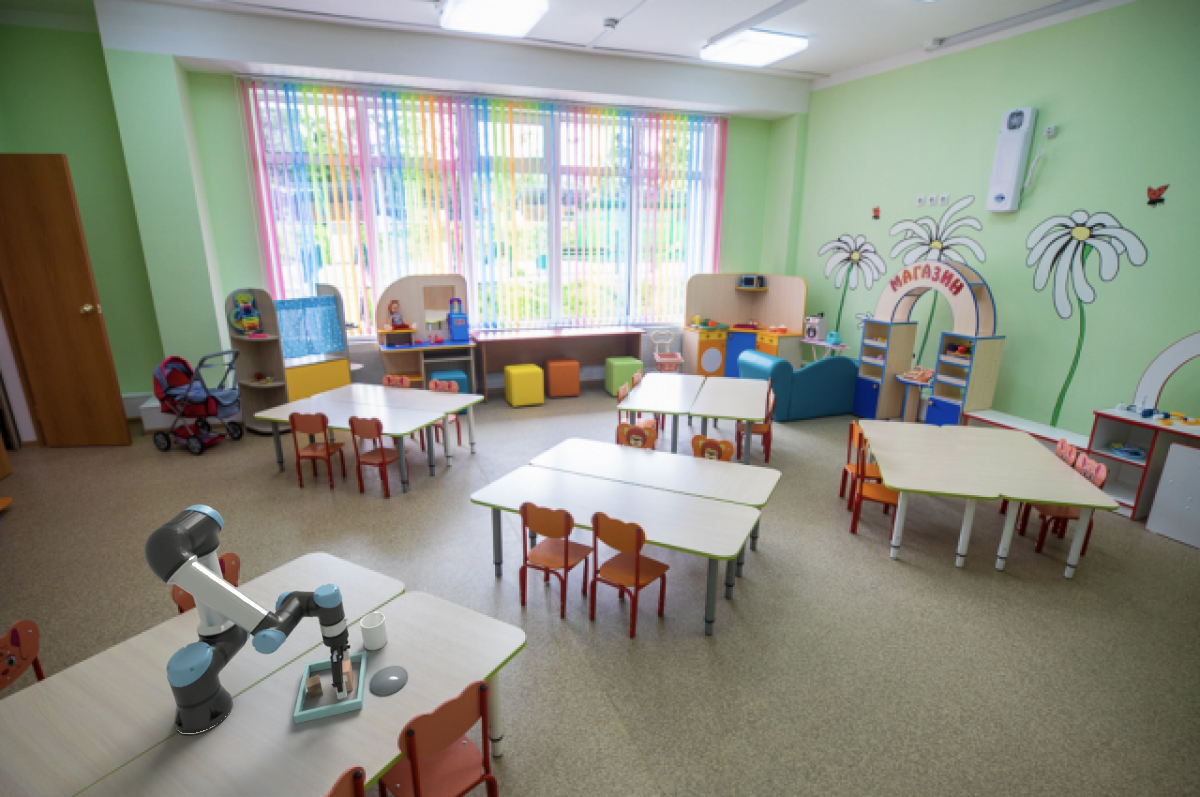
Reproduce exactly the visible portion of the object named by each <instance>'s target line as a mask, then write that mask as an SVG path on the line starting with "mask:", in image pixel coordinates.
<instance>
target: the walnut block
mask: <svg viewBox="0 0 1200 797" xmlns="http://www.w3.org/2000/svg"><path fill="white" fill-rule="evenodd" d="M321 682H322V681H321V677H320V674H316V675H313V676H310V677H309V678H308V679H306V684H307V693H308V697H309V698H308V699H309V700H313V699H314V698H317V697H319V696H323V695H324V691H323V688H322V683H321Z"/></svg>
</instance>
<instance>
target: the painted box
mask: <svg viewBox="0 0 1200 797" xmlns="http://www.w3.org/2000/svg"><path fill="white" fill-rule="evenodd" d="M342 668H343V680H344V682H345V687H346V692H350V691H353V687H354V681H355V678H354V672H353V667H352V663H351V661H350V660H348V661H343V662H342ZM334 689H335V694H336V695H337V693H336V688H334Z"/></svg>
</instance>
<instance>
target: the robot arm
mask: <svg viewBox="0 0 1200 797" xmlns="http://www.w3.org/2000/svg"><path fill="white" fill-rule="evenodd" d="M224 522H225V521H224V519H223V517H222V515H221V514H220V513H219V511H217V510H216V509H214V508H212V507H211V506H208V505H205V504H194V505H191V506H189V507H187V508H185V509H183V510H181V511H180V512H179V513H178V514H177V515H175V516H174V517H172V518H171V519H169V520H168V521H166V522H165V523H163V524H162V525H160V526H158V527H157V528H155V529H154V530H153V531H152V532H151V533H150V534H149V535H148V536H147V538H146V540H145V543H144V546H143V555H144V559H145V563H146V564H147V567H148V568H149V569H150V570H151V572H152V573H153V574H154V576H155V577H157V578H158V579H159V580H160V581H161V582H163V583H165V584H166V585H175V586H177V587H179V588H180V589H182V590H183V591H185V592H186V593H188V594H190V595H191V596H192V597H193V600H194V604H195V607H196V610H197V615H198V618H199V620H200V622H199V623H198V624H197V625H196V626H197V627H196V632H197V636H198V640H197V641H196V642H191V643H189V644H187V645H186V646H185V647H181V648H179V649H178V650H177V651H175V652H174V653H173V655H172V656H171V657H170V658H169V660H168V662H167V664H166V667H165V669H166V676H167V682H168V683H169V686H170V689H171V692H172V695H173V698H174V701H175V704H176V708H175V713H174V720H173V721H174V723H173V724H174V726H176V727H175V729H176V728H177V730H179V731H180V732H182V733H196V732H200V731H203V730H206V729H209V728H210V727H212V726H214V725H216V724H217V723H219V722H220V721H221V720H223V719H224V718H225V716H227V715H228V713H229V712H230V711H232V710H231V709H233V708H234V707H233V706H234V701H233V698H232V695H231V694H230V692H228V691H227V689H226V688H225V687H224V686H223V685H222V684H221V680H220V677H219V675H220V673H221V671H223V669H224V668H225V667H226V666H227V665H228V664H229V663H230V661H232V660H233V658H235V656H236V655H237V654H238V653H239V652H240V651H241V649H242V648H243V647H244V646H245V645H246V643H247V641H248V640H249V639H250V637H251V636H252V637H253V639H252V640H251V645H252V647H254V650H255V651H256V652H258V653H259V654H262V655H270V654H273V653H275V652H276V651H277V650H279V648H280V647H281V646H282V645H283V644H284V643H285V642H286V640H287V639H288V637H289V636H290V634H291V633H292V632H293V631H294V629H296V627H297V626H298V625H299V624H300V622H301V621H302V620H303V618H318V622H319V623H318V624H319V628H320V632H321V637H322V641H323V642H322V643H323V645H324V646H325V647H327V648H330V650H329V652H330V654H331V655H330V657H329V659H331V666H332V668H331V674H332V675H331V676H332V683H331V686H332V688H333V689H335V688H336V691H335V694H336V693H337V694H336V697H337V700H341V699H346V698H348V691H346V687H345V682H344V680H343V668H342V662H343V661H348V660H350V656H349V654H350V652H349V649H351V644H349V640H348V638H349V636H350V635H349V628H348V625H347V621H348V617H346V614H345V610H344V609H345V608H344V603H343V597H342V596H343V595H342V593H341V590H340V587H339V586H338V585H337V584H335V583H327V584H322V585H320V586H319V587H317V588H316V589H315V590H314V591H302V590H301V591H299V590H293V591H291V590H289V591H284V592H282V593H280V595H278V597H277V601H275V612H272V610H269V609H268V608H267V607H265V606H264V605H263V604H261V603H259V602H258V601H256V600H255V599H253V598H252V597H251V596H249V595H247V594H246V593H245V592H243V591H242V590H240V589H239V588H238V587H236V586H235V585H233V584H231V583H230V582H228V581H227V580H226V579H224V577H223V573H222V570H221V565H220V562H219V558H218V554H217V550H218V549H219V548H220V545H221V542H220V539H219V535H218V534H219V533H221V531H222V529H223V528H224V525H225V523H224ZM230 713H231V712H230ZM230 713H229V714H230ZM228 716H229V715H228ZM228 716H227V717H228ZM225 719H226V718H225ZM225 719H224V720H225ZM224 720H223V721H224ZM177 730H176V731H177Z"/></svg>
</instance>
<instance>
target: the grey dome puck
mask: <svg viewBox="0 0 1200 797" xmlns="http://www.w3.org/2000/svg"><path fill="white" fill-rule="evenodd" d="M408 677H409V676H408V671H407V669H406V668H404V667H403V666H401V665H389V666H385V667H382V668H381V669H379V670H378V671H376V672H375V673H374V674H373V675H372V677H371V678H370V682H369V688H370V690H371V692H373V693H374V694H376V695H379V696H387V695H392V694H394V693H396V692H397V691H399V690H401V689H402V688H403V687H404V686H405V685H406V684H407V682H408Z"/></svg>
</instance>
